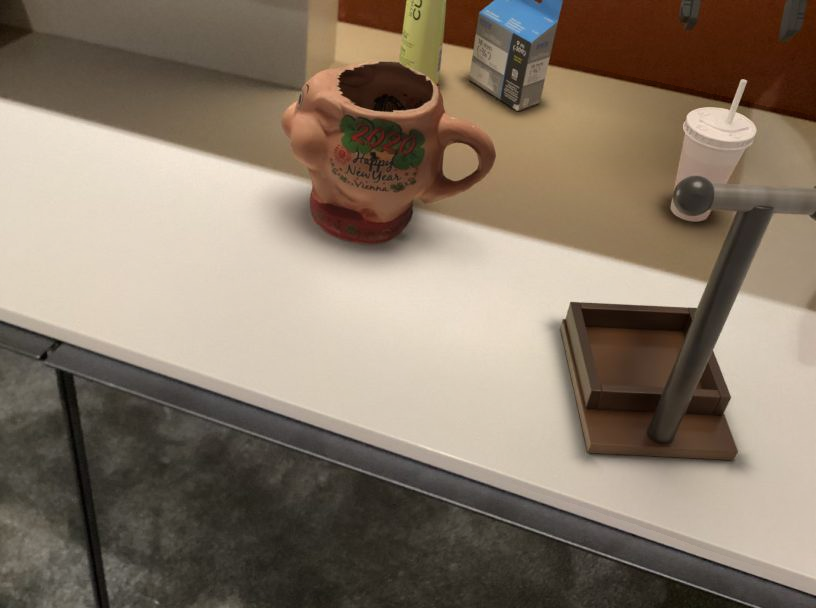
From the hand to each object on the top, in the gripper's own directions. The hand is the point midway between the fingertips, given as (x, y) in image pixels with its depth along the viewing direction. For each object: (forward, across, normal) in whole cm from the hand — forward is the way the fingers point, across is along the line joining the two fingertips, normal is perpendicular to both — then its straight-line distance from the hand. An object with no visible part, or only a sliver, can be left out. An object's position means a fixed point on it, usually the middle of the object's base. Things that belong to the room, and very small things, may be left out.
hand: (738, 32), depth 89 cm
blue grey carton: (+1, -20, +22) cm, 29 cm away
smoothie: (+15, 0, +8) cm, 17 cm away
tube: (+1, -30, +22) cm, 37 cm away
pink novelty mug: (+22, -30, +1) cm, 37 cm away
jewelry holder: (+35, -5, -12) cm, 37 cm away
